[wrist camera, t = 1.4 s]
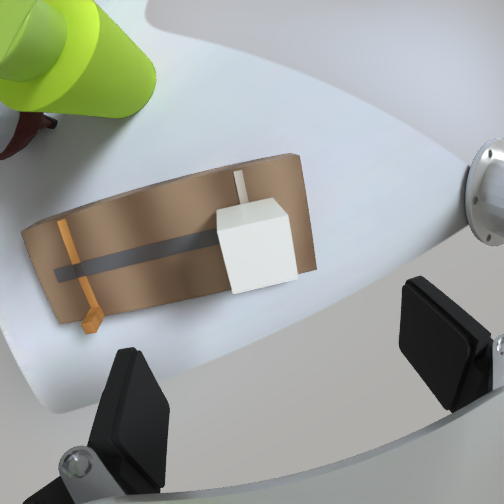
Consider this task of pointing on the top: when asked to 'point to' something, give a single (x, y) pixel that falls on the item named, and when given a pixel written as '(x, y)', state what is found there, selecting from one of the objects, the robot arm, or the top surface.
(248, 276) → the fader knob
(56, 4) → the soap dispenser
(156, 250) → the fader console
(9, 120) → the mate gourd
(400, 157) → the top surface
